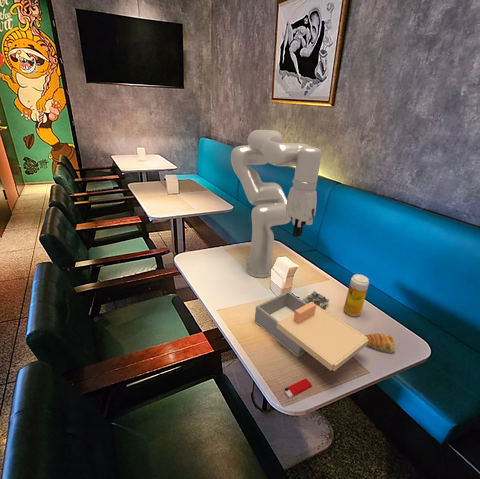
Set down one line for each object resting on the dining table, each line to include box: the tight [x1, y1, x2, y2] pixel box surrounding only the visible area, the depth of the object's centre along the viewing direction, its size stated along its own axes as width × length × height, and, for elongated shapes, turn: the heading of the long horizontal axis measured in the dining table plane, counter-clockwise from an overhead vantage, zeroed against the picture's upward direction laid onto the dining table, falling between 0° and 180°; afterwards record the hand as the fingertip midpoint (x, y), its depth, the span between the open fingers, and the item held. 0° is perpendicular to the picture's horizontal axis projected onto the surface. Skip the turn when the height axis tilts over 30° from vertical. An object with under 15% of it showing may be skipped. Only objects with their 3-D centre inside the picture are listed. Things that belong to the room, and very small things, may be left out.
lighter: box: [284, 377, 313, 399], centre depth 82 cm, size 3×1×8 cm
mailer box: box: [254, 291, 308, 358], centre depth 102 cm, size 20×16×6 cm
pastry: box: [364, 333, 396, 354], centre depth 98 cm, size 9×7×4 cm
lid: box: [276, 301, 369, 372], centre depth 92 cm, size 21×18×6 cm
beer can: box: [343, 273, 370, 317], centre depth 111 cm, size 6×6×15 cm
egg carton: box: [301, 290, 330, 309], centre depth 115 cm, size 11×8×4 cm
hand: (296, 235), depth 108 cm, fingers closed
